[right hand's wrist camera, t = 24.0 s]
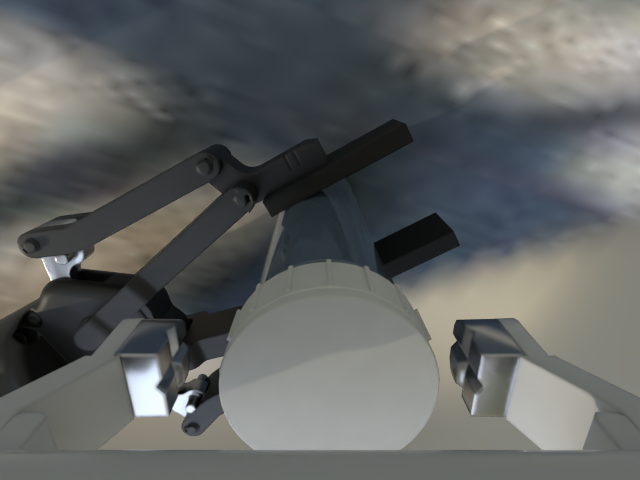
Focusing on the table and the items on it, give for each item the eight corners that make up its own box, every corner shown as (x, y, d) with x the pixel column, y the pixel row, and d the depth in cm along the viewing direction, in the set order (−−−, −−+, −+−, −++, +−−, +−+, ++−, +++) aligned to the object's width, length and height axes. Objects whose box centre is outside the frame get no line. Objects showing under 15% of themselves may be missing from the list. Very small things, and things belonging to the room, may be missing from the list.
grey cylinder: (325, 150, 23) (346, 249, 8) (367, 205, 24) (449, 375, 9) (269, 194, 24) (201, 352, 9) (313, 245, 25) (312, 456, 10)
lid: (462, 329, 10) (491, 374, 8) (341, 445, 11) (346, 503, 10) (309, 218, 9) (308, 245, 7) (195, 361, 10) (172, 411, 9)
